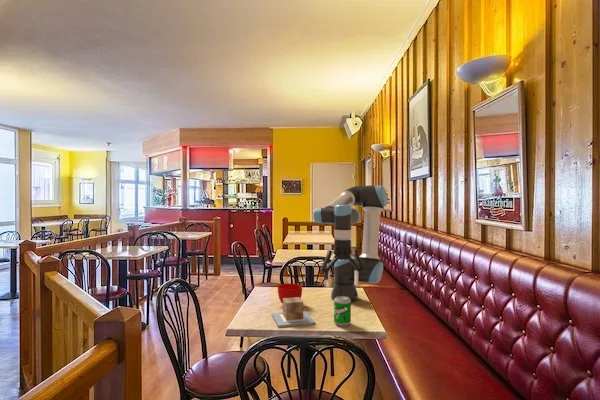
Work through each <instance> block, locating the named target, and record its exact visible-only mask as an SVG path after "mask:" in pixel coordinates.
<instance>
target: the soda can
mask: <svg viewBox="0 0 600 400" xmlns="http://www.w3.org/2000/svg"><path fill="white" fill-rule="evenodd" d="M351 311H352V302H351V300H350V299H349V297H346V296H337V297H336V298H335V299H334V300H333V322H334V324H335V325H336V326H338V327H347V326H349V325H350V324H351V323H352V321H351V319H352V318H351V314H352V312H351Z"/></svg>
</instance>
